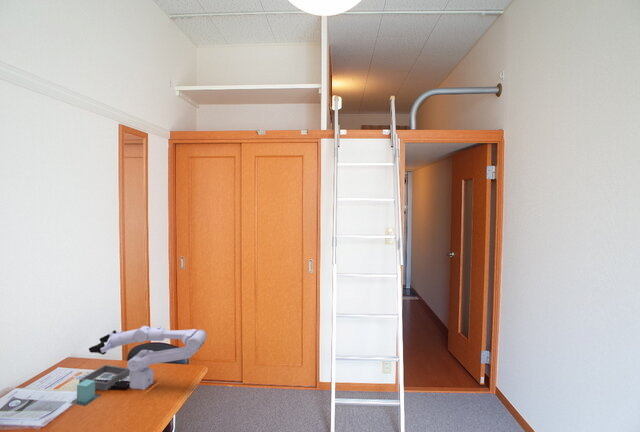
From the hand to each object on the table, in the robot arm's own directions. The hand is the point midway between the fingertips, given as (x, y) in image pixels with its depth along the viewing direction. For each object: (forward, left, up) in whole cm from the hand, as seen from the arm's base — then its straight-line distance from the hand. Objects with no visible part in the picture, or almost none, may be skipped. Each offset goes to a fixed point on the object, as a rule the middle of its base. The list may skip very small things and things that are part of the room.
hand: (95, 345), depth 146 cm
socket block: (-7, +11, -18) cm, 22 cm away
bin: (-3, -3, -19) cm, 19 cm away
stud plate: (-7, +11, -19) cm, 23 cm away
